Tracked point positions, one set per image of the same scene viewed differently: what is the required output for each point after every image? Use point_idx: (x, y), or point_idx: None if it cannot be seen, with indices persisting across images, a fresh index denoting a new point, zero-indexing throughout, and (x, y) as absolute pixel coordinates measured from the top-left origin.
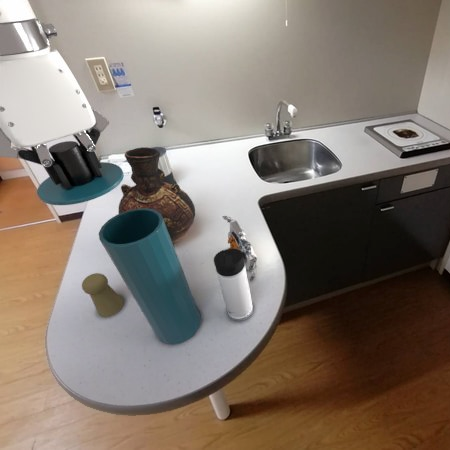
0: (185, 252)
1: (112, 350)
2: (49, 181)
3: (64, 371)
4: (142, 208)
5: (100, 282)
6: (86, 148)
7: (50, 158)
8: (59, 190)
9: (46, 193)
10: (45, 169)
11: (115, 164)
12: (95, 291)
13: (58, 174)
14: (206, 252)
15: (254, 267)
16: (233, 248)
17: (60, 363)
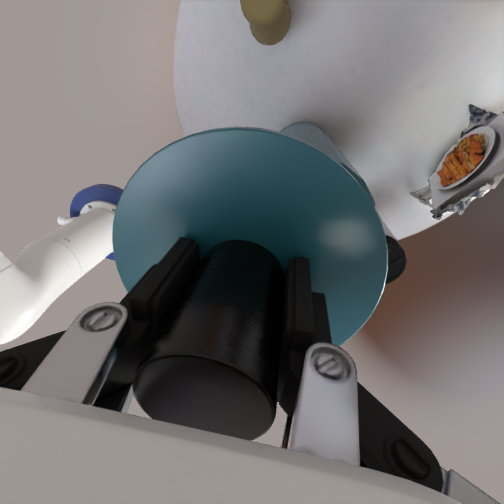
0: (442, 19)
1: (229, 106)
2: (162, 186)
3: (178, 77)
4: (368, 192)
5: (266, 19)
6: (285, 421)
7: (129, 400)
8: None
9: (134, 257)
10: (128, 295)
11: (384, 283)
12: (252, 24)
13: None
14: (455, 67)
15: (428, 203)
16: (455, 163)
17: (179, 58)
